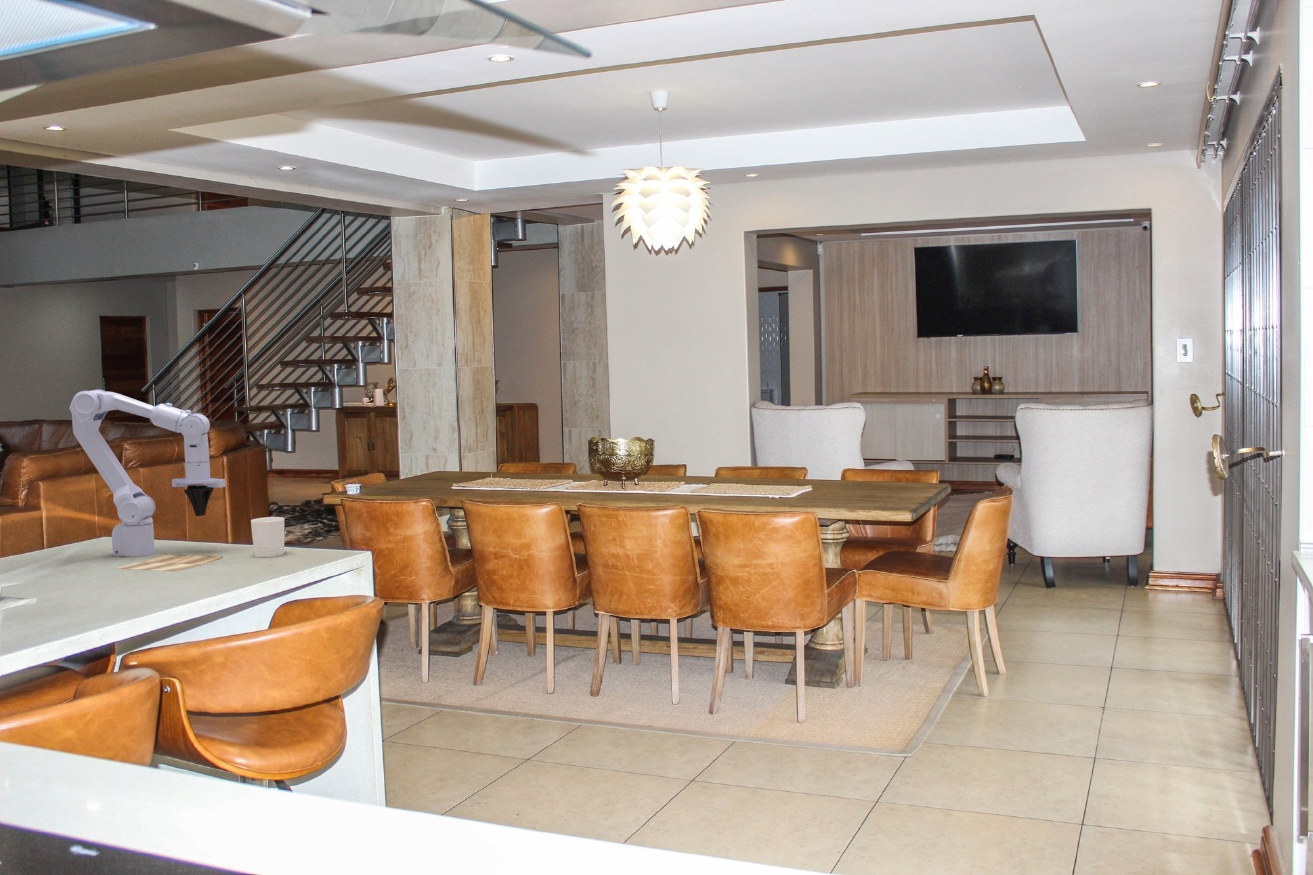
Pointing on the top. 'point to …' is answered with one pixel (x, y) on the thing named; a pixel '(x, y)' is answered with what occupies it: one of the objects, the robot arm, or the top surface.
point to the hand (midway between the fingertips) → (200, 515)
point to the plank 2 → (199, 559)
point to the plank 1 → (169, 558)
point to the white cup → (268, 536)
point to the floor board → (158, 566)
